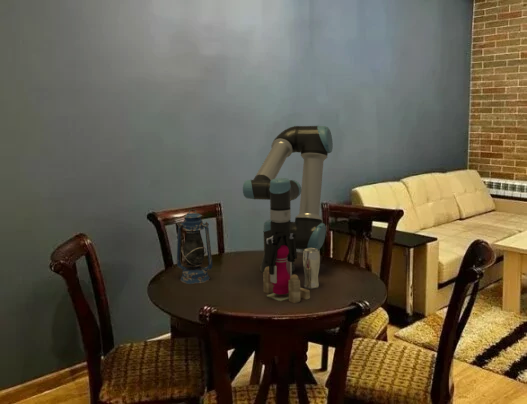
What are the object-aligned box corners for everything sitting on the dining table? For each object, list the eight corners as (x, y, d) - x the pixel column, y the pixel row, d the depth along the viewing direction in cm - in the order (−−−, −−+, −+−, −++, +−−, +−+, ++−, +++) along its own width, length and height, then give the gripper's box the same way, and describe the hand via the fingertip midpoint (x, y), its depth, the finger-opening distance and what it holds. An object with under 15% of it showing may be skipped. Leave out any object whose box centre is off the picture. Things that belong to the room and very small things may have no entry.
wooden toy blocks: (258, 293, 213) (257, 267, 211) (278, 287, 219) (278, 262, 218) (289, 304, 199) (289, 277, 198) (310, 298, 206) (310, 272, 204)
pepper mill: (270, 289, 211) (270, 238, 208) (289, 288, 212) (289, 237, 209) (272, 295, 204) (272, 242, 201) (292, 294, 205) (291, 242, 202)
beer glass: (321, 284, 222) (321, 248, 220) (317, 289, 216) (317, 252, 213) (305, 283, 224) (304, 247, 222) (300, 288, 218) (300, 251, 215)
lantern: (172, 283, 227) (169, 211, 223) (182, 274, 239) (179, 206, 234) (208, 284, 224) (205, 212, 219) (216, 276, 236) (214, 207, 231)
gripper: (266, 225, 195) (267, 288, 198) (306, 218, 207) (307, 277, 211) (253, 222, 200) (254, 283, 204) (293, 215, 213) (293, 272, 217)
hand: (281, 280), depth 207 cm, fingers closed on pepper mill, 7 cm apart
